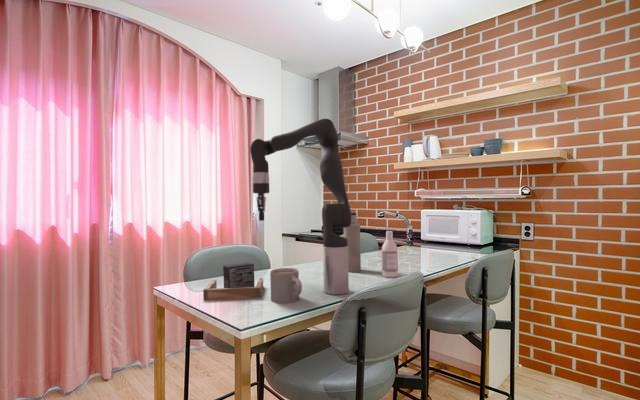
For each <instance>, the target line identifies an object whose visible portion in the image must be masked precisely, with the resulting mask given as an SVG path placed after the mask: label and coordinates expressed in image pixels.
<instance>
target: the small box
mask: <svg viewBox="0 0 640 400" xmlns="http://www.w3.org/2000/svg"><path fill="white" fill-rule="evenodd" d="M254 267H255V264H254V262H253V263H251V262H249V261H245V262H239V263H237V262H236V263H232V264H231V263H230V264H224V265H223V267H222V270H223V288H240V287H256V286H255V268H254Z"/></svg>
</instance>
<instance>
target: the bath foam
mask: <svg viewBox="0 0 640 400" xmlns="http://www.w3.org/2000/svg"><path fill="white" fill-rule="evenodd" d="M393 232H394V231H391V230H386V232H385V240H384V243H383V244H382V246H381V271H382V273H381V274H382V276H383V277H384V278H397V277H398V276H399V257H398V256H399V255H398V254H399V251H398V246H397V244H396V242H395V240H394V239H393V237H394V236H393V235H394V233H393Z"/></svg>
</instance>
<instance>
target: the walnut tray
mask: <svg viewBox="0 0 640 400" xmlns="http://www.w3.org/2000/svg"><path fill="white" fill-rule="evenodd" d="M217 283H218V282H217V279H212V280H211V281H210V282H209V284H207V285H206V286H205V288H204V289H203V290H202V291H203V295H202V296H203V297H202V298H203V301H207V300H208V301H209V300H211V301H212V300H229V299H233V300H235V299H252V298H255V299H256V298H261V295H262V292H263V289H264V277H260V278H258V281H257V284H256V286H255V287H240V288H224V287H219V288H217Z"/></svg>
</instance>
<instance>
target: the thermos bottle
mask: <svg viewBox="0 0 640 400" xmlns="http://www.w3.org/2000/svg"><path fill="white" fill-rule="evenodd" d="M351 217H352V219H351V225H350V226H349V227H346V228H343V237H345V238H346V239H347V240H348V273H358V272H361V271H362V263H361V261H362V260H361V259H362V258H361V254H362V253H361V224H360V222H359V219H357V217H358V216H357V213H356V212H351Z"/></svg>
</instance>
